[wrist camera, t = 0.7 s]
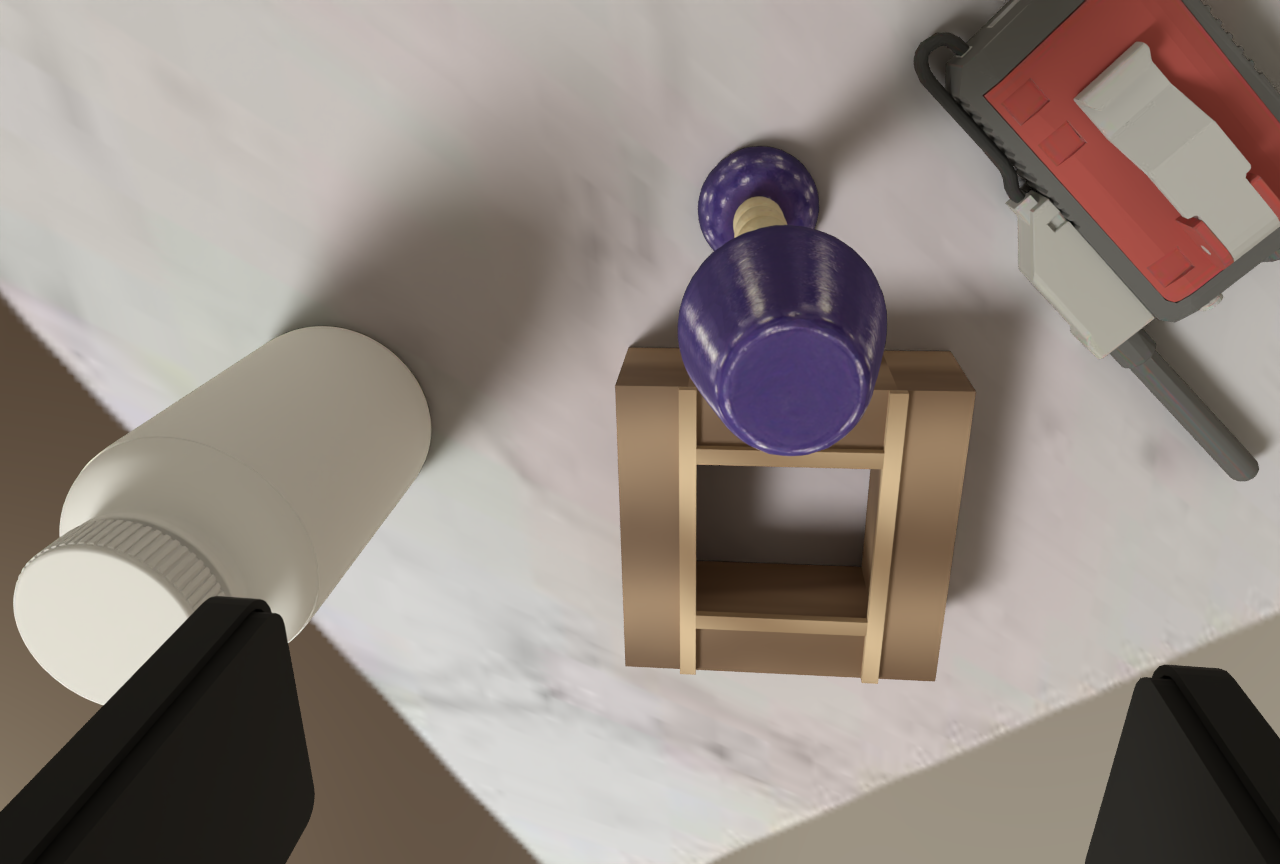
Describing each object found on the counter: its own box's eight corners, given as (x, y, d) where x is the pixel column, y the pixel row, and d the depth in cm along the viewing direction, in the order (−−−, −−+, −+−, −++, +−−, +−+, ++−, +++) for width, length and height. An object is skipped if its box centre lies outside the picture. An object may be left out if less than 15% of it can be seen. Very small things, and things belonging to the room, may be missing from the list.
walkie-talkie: (854, 102, 31) (1206, 478, 35) (872, 114, 27) (1267, 537, 31) (1074, -122, 27) (1432, 322, 32) (1132, -147, 23) (1533, 365, 28)
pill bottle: (268, 288, 35) (-31, 456, 22) (460, 368, 36) (287, 581, 22) (230, 454, 38) (-50, 690, 25) (407, 525, 39) (227, 794, 25)
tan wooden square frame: (628, 347, 35) (614, 388, 31) (950, 351, 33) (978, 394, 29) (636, 607, 39) (624, 671, 36) (916, 618, 38) (936, 686, 34)
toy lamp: (847, 160, 31) (948, 292, 16) (815, 290, 33) (877, 518, 18) (710, 136, 31) (680, 244, 16) (686, 267, 33) (638, 473, 18)
